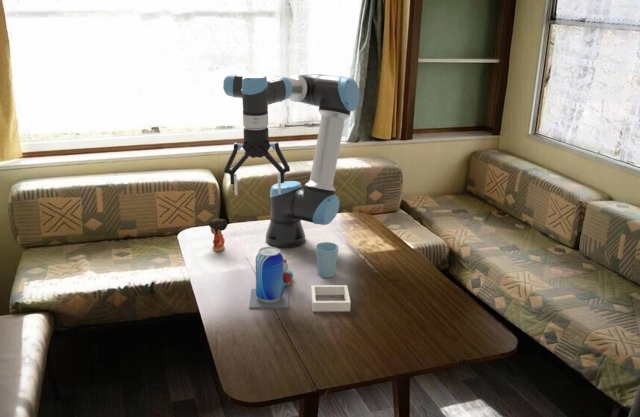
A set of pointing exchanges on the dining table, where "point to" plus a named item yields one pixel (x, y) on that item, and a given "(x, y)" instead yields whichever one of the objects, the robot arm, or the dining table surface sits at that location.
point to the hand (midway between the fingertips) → (257, 193)
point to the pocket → (330, 304)
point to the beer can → (269, 275)
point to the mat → (258, 304)
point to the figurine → (218, 233)
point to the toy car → (286, 274)
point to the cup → (326, 258)
